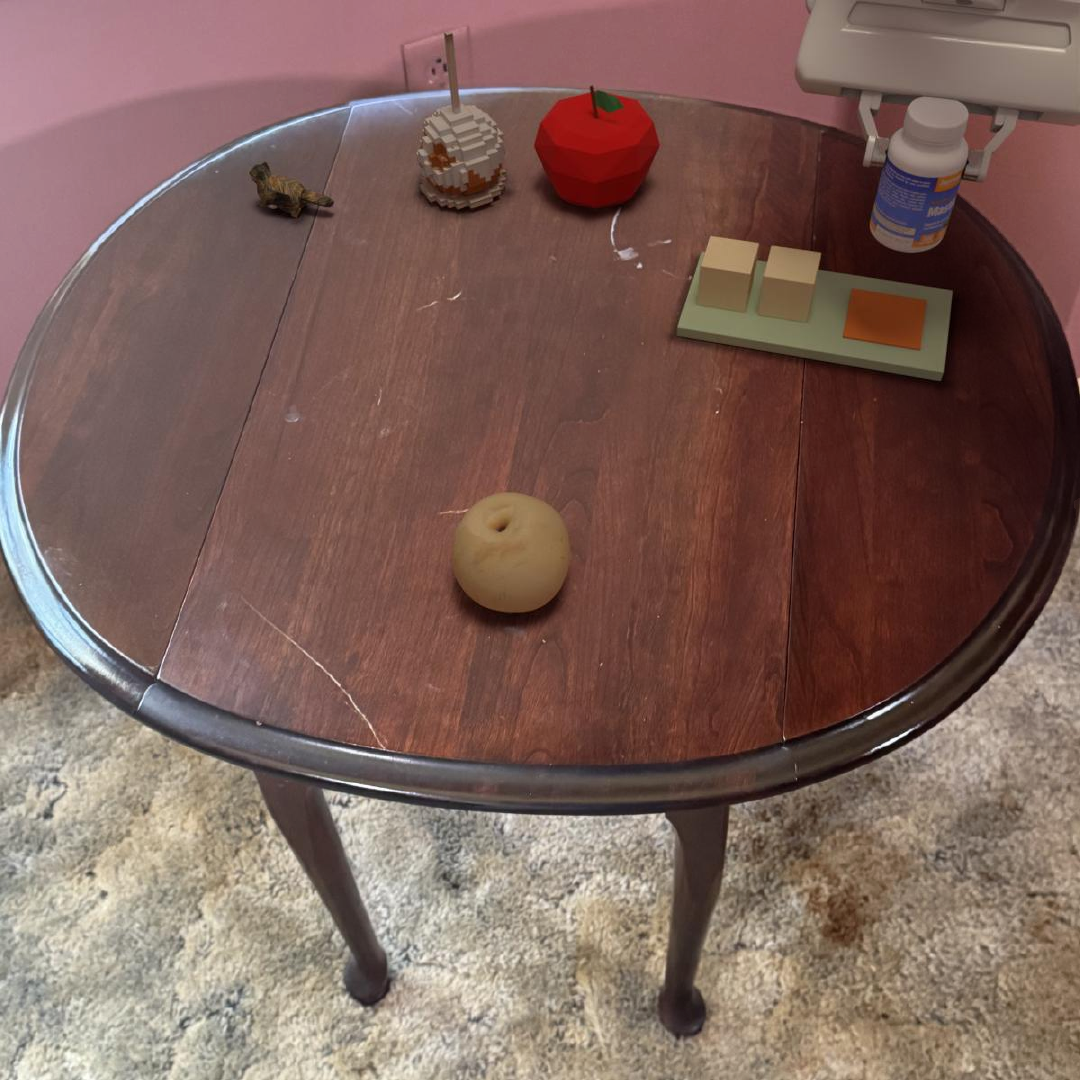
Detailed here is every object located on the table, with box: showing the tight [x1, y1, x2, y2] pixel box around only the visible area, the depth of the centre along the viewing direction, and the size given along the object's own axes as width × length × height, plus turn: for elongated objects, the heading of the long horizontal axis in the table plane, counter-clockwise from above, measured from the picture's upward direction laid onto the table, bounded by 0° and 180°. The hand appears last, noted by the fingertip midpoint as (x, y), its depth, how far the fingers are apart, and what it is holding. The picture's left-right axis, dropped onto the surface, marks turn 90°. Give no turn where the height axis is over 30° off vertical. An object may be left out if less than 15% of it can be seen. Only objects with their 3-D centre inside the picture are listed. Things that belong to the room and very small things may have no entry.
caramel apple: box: [415, 30, 507, 210], centre depth 98 cm, size 8×8×15 cm
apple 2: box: [533, 84, 661, 210], centre depth 100 cm, size 11×11×10 cm
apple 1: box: [450, 491, 571, 613], centre depth 74 cm, size 8×8×8 cm
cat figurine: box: [249, 161, 335, 219], centre depth 102 cm, size 3×8×4 cm, turn 74°
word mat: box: [676, 235, 954, 382], centre depth 90 cm, size 21×10×5 cm, turn 73°
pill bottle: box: [869, 96, 970, 254], centre depth 78 cm, size 5×5×10 cm
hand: (923, 173), depth 77 cm, fingers closed on pill bottle, 5 cm apart
